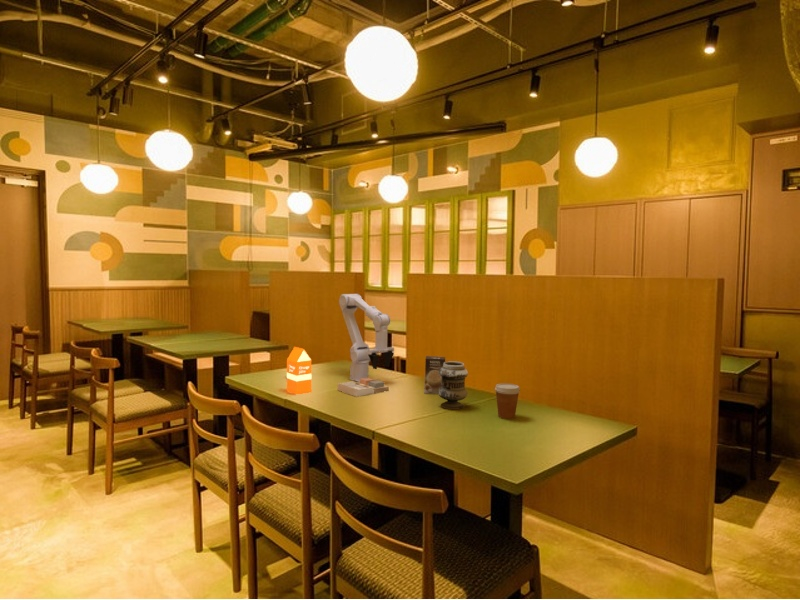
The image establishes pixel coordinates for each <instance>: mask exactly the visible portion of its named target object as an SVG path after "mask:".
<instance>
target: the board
mask: <svg viewBox="0 0 800 600" xmlns="http://www.w3.org/2000/svg"><path fill="white" fill-rule="evenodd" d="M355 384H357V385H360V386H363V387H366V388H370V387H371V386H369V385H364V384H361V383H360V382H355ZM373 390H374V394H380V393H379V392H381V393H385V392H384V391H386V392H389V391H390V386H388V385H385V384H384V387H379V388H374V387H373Z"/></svg>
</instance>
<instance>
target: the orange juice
mask: <svg viewBox="0 0 800 600" xmlns="http://www.w3.org/2000/svg"><path fill="white" fill-rule="evenodd" d="M312 374H313V373H312V358H311V357H310V355H309V354H308V353H307V351H306V350H305V349H304V348H302V347H299V346H293V349H292V350H291V352H290V353H289V356H288V357H287V358H286V391H287V392H288V391H289V392H288V393H291V394H293V393H294V394H293V395H296V394H299V395H303V393H304V394H308V393H309V392H310V393H312Z"/></svg>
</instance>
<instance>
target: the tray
mask: <svg viewBox="0 0 800 600" xmlns="http://www.w3.org/2000/svg"><path fill="white" fill-rule="evenodd" d="M355 383H356V381H354V380H352V381H347V382H346V381H345V382H337V391H338V390H339V391H338V392H341V391H342V392H341V393H344V394H346V393H347V395H349V394H350V395H349V396H352V395H353V397H355V398H359V396H360V397H364V395H365V396H369V395H375V393H374V390H373V387H370V388H366V387H363V386H360V385H357V384H355Z"/></svg>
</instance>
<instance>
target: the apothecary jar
mask: <svg viewBox="0 0 800 600" xmlns="http://www.w3.org/2000/svg"><path fill="white" fill-rule="evenodd" d="M439 374H440V376H441V377H442V385H441V387H440V389H439V390H438V394H437V395H439V397H440V398H442V399H443V400H446V401H444V402H441V403H440V407H441V408H443V409H445V410H460V409H464V408H465V404H464V403H461V402H460V401H462V400H464V399H466V398H467V396H468V390H467V389H466V382H465V381H466V378H467V377H468V375H469V372H468V370H467V368H465V363H463V362H462V361H453V360H451V361H450V360H449V361H445V362H444V363H443V367H442V368H441V369H440V370H439Z"/></svg>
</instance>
